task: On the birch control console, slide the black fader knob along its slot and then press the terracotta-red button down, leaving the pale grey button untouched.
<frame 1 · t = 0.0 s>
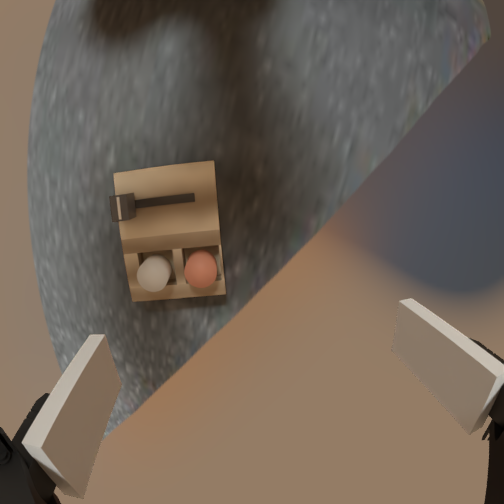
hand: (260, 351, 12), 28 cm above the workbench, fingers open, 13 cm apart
fader knob: (123, 206, 31), point 6 cm above the workbench, slide at 0.0 cm
button b: (154, 272, 33), point 5 cm above the workbench, slide at 0.0 cm
button a: (201, 268, 34), point 5 cm above the workbench, slide at 0.0 cm
console: (173, 229, 38), on the workbench
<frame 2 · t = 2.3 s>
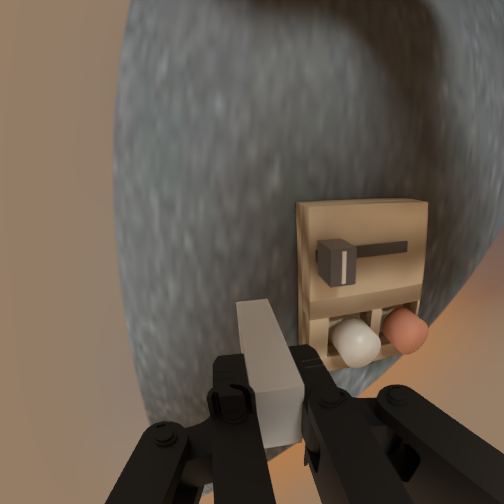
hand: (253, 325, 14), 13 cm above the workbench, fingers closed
fader knob: (336, 261, 22), point 6 cm above the workbench, slide at 0.0 cm
button b: (355, 341, 25), point 5 cm above the workbench, slide at 0.0 cm
button a: (405, 330, 25), point 5 cm above the workbench, slide at 0.0 cm
console: (354, 278, 29), on the workbench
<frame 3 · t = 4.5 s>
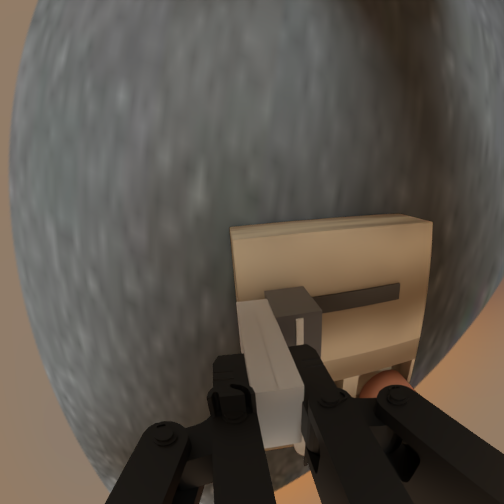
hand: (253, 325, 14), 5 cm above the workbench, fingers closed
fader knob: (291, 327, 14), point 6 cm above the workbench, slide at 0.8 cm, touching gripper
button b: (316, 422, 16), point 5 cm above the workbench, slide at 0.0 cm
button a: (390, 402, 17), point 5 cm above the workbench, slide at 0.0 cm
console: (323, 328, 21), on the workbench
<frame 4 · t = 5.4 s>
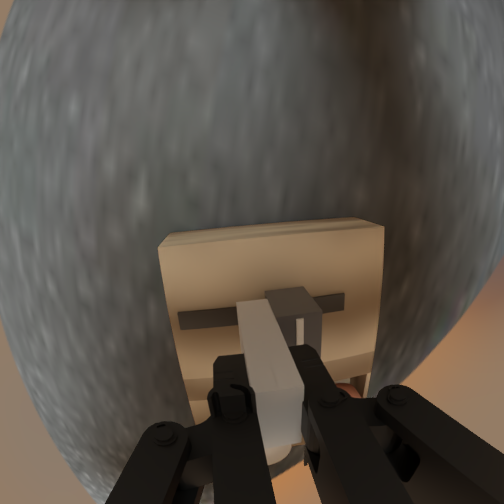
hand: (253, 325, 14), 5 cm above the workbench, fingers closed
fader knob: (291, 327, 14), point 6 cm above the workbench, slide at 4.5 cm, touching gripper
button b: (257, 433, 16), point 5 cm above the workbench, slide at 0.0 cm
button a: (341, 417, 17), point 5 cm above the workbench, slide at 0.0 cm
console: (272, 336, 21), on the workbench
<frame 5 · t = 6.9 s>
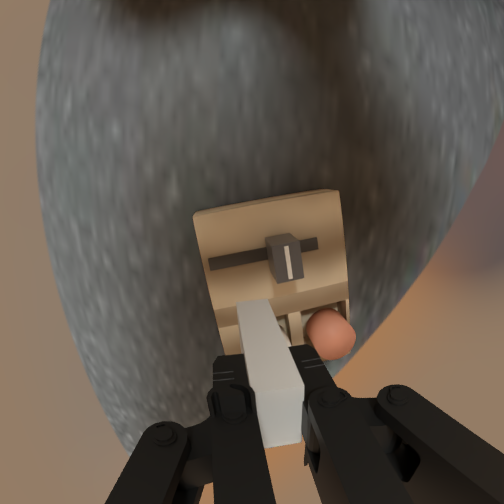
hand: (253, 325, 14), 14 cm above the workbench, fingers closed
fader knob: (283, 257, 22), point 6 cm above the workbench, slide at 4.7 cm
button b: (269, 348, 25), point 5 cm above the workbench, slide at 0.0 cm
button a: (330, 333, 25), point 5 cm above the workbench, slide at 0.0 cm
console: (274, 280, 29), on the workbench
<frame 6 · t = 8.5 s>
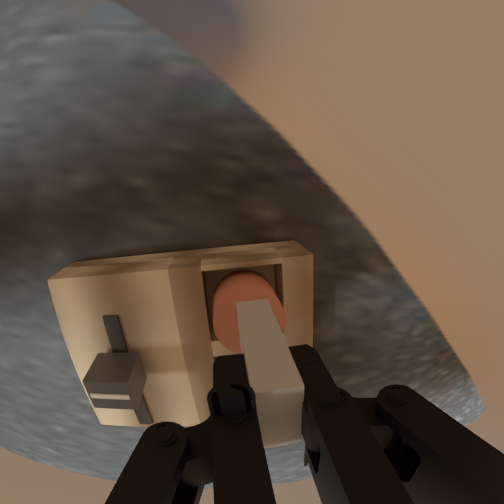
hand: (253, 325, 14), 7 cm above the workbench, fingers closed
fader knob: (116, 380, 15), point 6 cm above the workbench, slide at 4.7 cm
button a: (246, 310, 16), point 5 cm above the workbench, slide at 0.7 cm, touching gripper
console: (189, 331, 21), on the workbench
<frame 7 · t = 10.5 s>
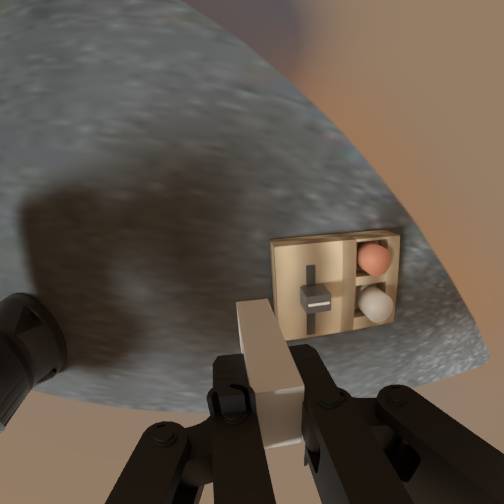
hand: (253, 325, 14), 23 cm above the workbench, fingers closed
fader knob: (315, 298, 33), point 6 cm above the workbench, slide at 4.7 cm
button b: (375, 304, 34), point 5 cm above the workbench, slide at 0.0 cm
button a: (372, 257, 34), point 4 cm above the workbench, slide at 1.4 cm
console: (331, 278, 39), on the workbench
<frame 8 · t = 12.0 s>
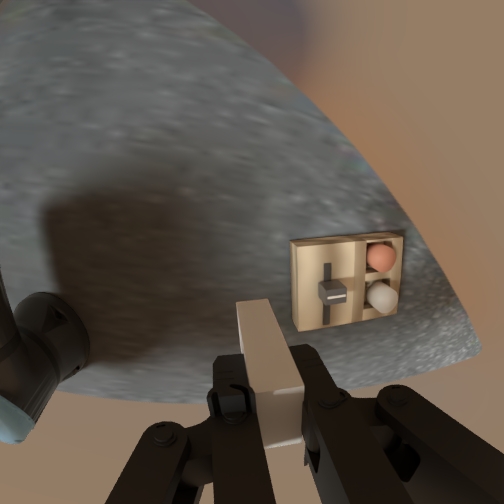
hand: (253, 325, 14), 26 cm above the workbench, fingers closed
fader knob: (332, 292, 37), point 6 cm above the workbench, slide at 4.7 cm
button b: (381, 297, 39), point 5 cm above the workbench, slide at 0.0 cm
button a: (379, 256, 39), point 4 cm above the workbench, slide at 1.4 cm
console: (342, 275, 43), on the workbench
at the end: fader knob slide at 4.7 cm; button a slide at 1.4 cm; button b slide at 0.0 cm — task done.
